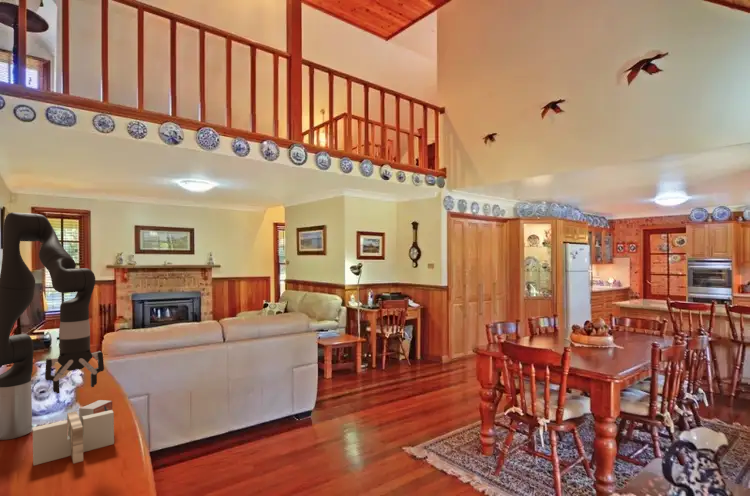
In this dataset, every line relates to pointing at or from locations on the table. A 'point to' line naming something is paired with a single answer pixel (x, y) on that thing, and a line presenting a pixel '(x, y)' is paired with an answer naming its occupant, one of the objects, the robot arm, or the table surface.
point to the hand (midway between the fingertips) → (75, 389)
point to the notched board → (56, 443)
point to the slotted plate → (75, 436)
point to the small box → (95, 408)
